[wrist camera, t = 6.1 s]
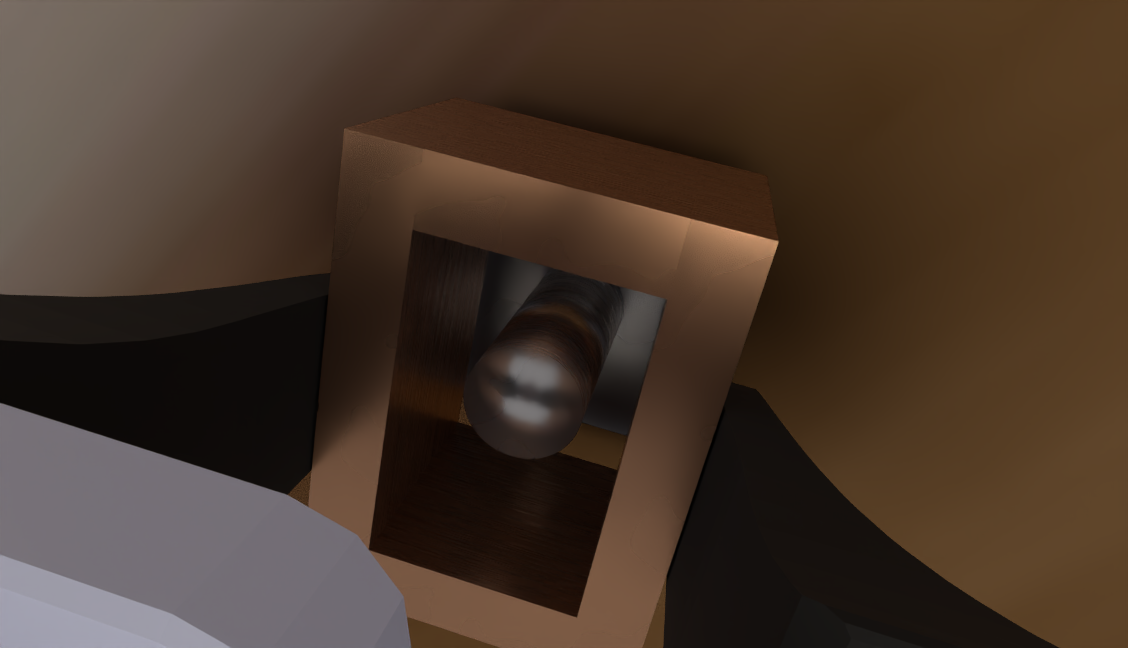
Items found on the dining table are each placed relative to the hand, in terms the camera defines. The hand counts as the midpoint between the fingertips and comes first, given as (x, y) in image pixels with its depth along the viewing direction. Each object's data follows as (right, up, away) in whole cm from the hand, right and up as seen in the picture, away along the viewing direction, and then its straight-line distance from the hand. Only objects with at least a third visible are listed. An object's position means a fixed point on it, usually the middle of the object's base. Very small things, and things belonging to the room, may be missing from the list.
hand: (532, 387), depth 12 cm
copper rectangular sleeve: (0, +1, +2) cm, 2 cm away
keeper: (+1, +2, +4) cm, 5 cm away
